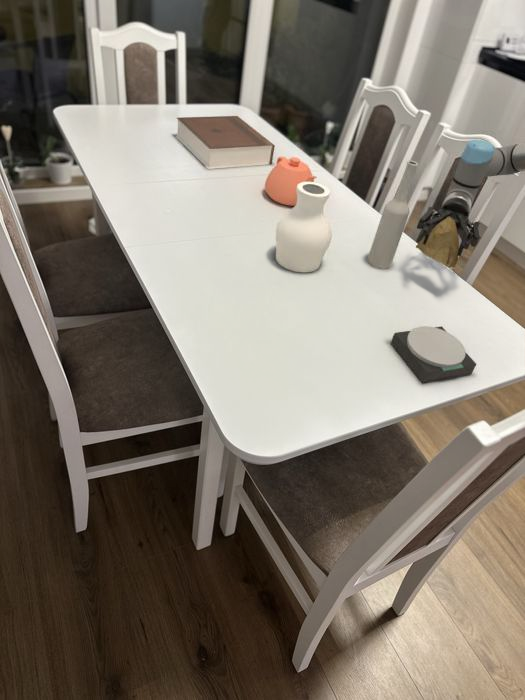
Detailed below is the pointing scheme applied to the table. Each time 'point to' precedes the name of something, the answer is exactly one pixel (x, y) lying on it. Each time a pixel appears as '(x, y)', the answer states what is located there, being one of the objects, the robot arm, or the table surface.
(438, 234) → the rock
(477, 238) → the robot arm
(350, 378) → the table surface
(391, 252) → the bottle
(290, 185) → the teapot
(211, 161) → the book
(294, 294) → the table surface
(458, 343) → the scale
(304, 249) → the vase
